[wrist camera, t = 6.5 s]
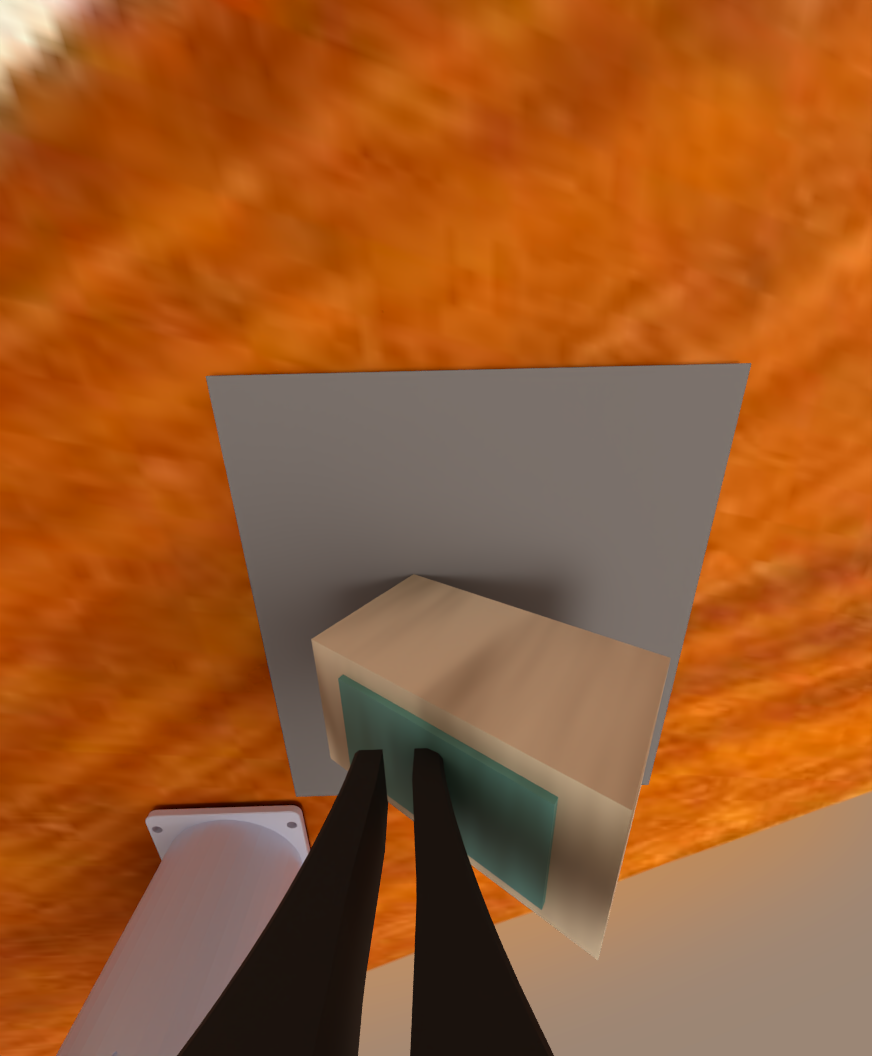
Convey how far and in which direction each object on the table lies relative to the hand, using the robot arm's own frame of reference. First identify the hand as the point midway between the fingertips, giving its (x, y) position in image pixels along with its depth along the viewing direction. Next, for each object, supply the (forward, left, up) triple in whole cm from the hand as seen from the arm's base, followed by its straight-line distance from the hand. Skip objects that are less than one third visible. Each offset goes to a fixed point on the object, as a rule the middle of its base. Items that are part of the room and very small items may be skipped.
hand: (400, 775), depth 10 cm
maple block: (0, +1, -5) cm, 5 cm away
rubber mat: (0, -3, -7) cm, 8 cm away
